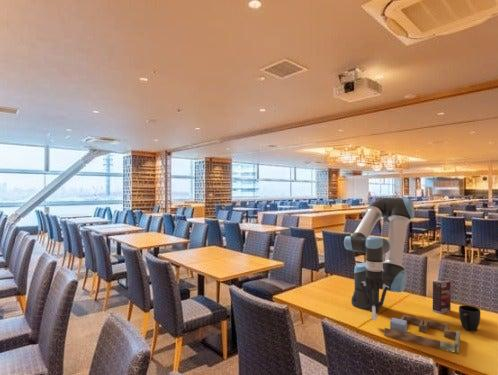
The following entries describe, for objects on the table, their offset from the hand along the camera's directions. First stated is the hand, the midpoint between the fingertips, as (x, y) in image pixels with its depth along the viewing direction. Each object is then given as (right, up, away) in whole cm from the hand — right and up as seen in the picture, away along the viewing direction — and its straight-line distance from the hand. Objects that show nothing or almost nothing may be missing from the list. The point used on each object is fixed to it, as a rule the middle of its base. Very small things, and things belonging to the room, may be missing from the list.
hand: (374, 319), depth 152 cm
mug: (+42, -3, -5) cm, 42 cm away
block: (+9, -4, -6) cm, 11 cm away
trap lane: (+18, -3, -8) cm, 20 cm away
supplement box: (+43, -3, +18) cm, 47 cm away
